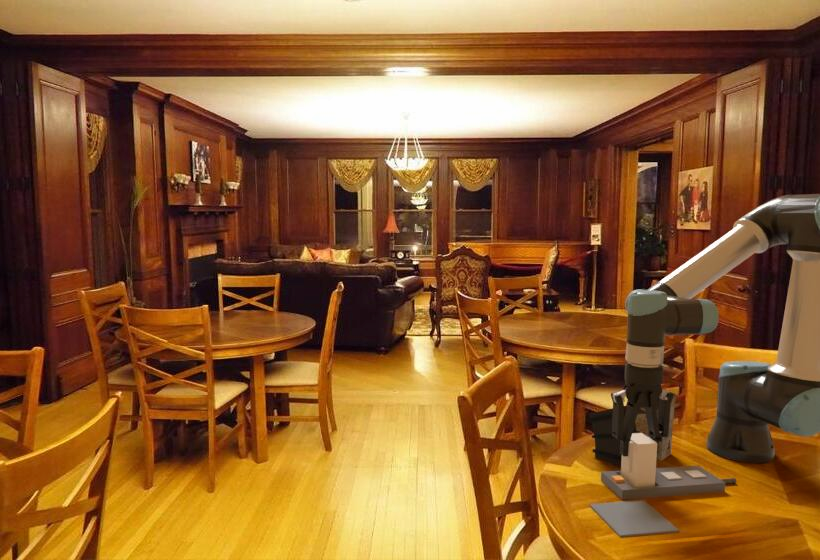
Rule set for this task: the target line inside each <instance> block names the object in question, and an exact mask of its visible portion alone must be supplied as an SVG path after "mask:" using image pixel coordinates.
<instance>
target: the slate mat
mask: <svg viewBox="0 0 820 560" xmlns="http://www.w3.org/2000/svg"><path fill="white" fill-rule="evenodd" d="M589 508H591V509H592V510H593V512H595V513H596V514H597V515H598V516H599V518H600V519H602V521H603V522H605V524H606V525H607V526H608V527H610V528H611V530H612V531H613V532H614V533H615V534H616V535H617V536H618V537H619V538H625V537H636V536H647V535H658V534H659V535H660V534H670V533H671V534H672V533H679V532H680V530H679V528H677V527H676V526H675V525H674V524H673V523H671V522H670V521H669V520H668V519H667V518H665V517H664V516H663V515H662V514H661V513H660V512H658V511H657V510H656V509H655V508H654V507H653V506H651V505H650V503H647V501H645V500H644V499H639V500H628V501H626V500H625V501H614V502H613V501H612V502H602V503H601V502H600V503H589Z"/></svg>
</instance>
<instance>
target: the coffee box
mask: <svg viewBox="0 0 820 560" xmlns="http://www.w3.org/2000/svg"><path fill="white" fill-rule="evenodd" d="M672 393H673V394H674V397H673V399H672V402H671V406H670V420H669V433H668V437H663V438H662V439H663V440H662V442H659V449H658V454H657V458H656V460H658V461H663V460H664V459H666V458H667V457H668V456H670V455H671V454H672V445H673V444H672V442H673V432H674V431H673V429H674V420H675V419H674V418H675V417H674V416H675V406H676V405H675V404H676V393H675V392H672ZM659 399H660V398H658V399H657V400H656V404H657V411H656V412H657V418H658V408H659ZM635 424H636V429H637V431H640V433H643V434H644V435H646V436H647V437H650V436H649V430H648V424H647V418H646V412H645V408H644V407H641V409H640V412H639V413H638V414H637V418H636V421H635Z"/></svg>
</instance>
